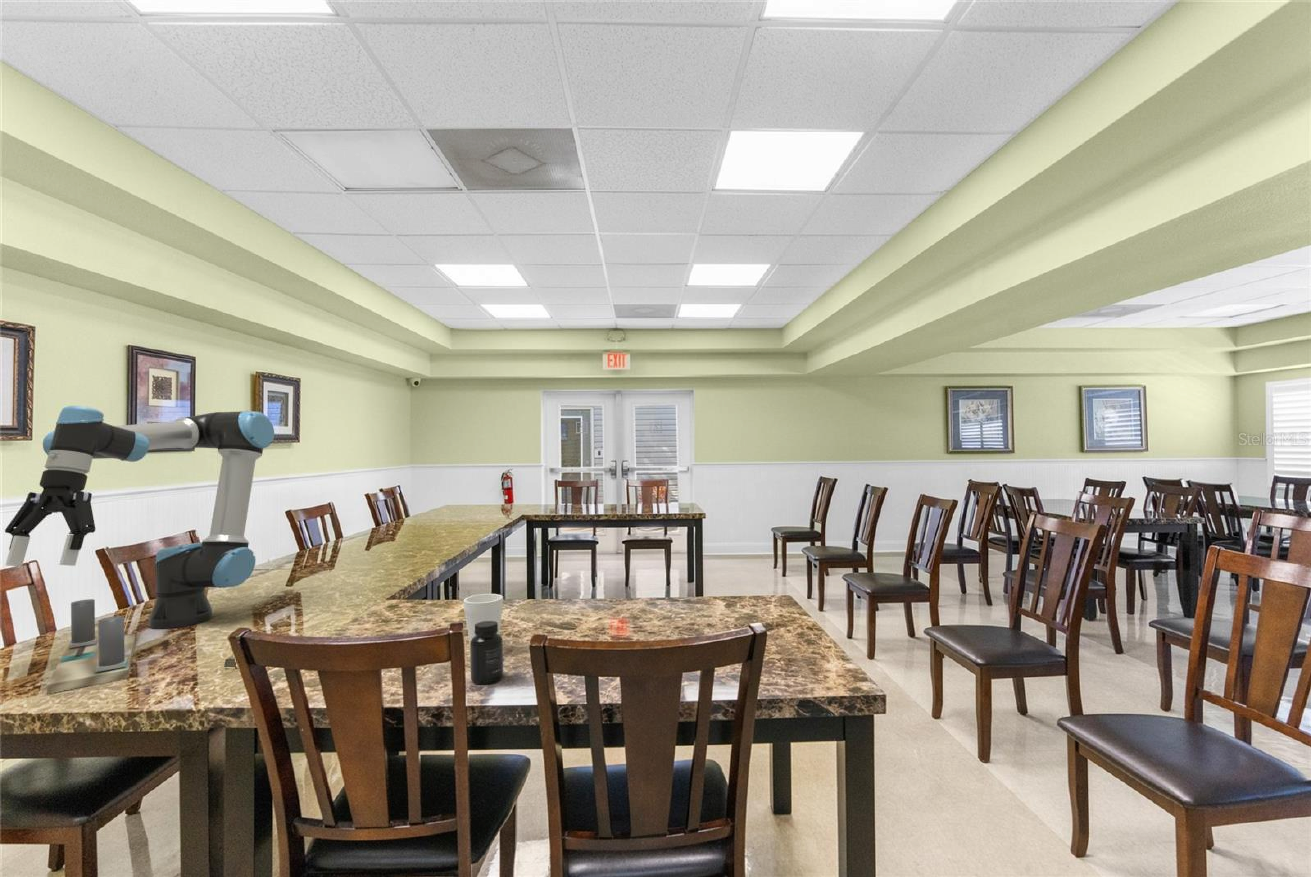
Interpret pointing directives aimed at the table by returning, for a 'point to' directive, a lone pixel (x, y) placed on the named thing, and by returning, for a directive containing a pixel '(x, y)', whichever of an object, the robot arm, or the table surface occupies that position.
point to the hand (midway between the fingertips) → (40, 565)
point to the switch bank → (87, 667)
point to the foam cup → (482, 611)
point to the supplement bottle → (486, 654)
